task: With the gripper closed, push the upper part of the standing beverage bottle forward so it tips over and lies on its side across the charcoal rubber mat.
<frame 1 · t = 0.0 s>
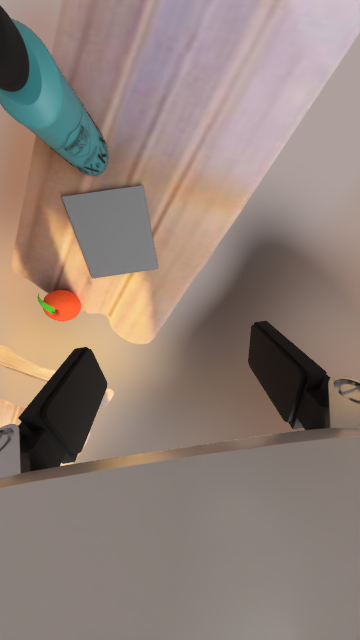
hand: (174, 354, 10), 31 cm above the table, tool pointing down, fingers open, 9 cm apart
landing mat: (115, 236, 34), on the table
beverage bottle: (93, 156, 28), on the table
clementine: (69, 298, 39), on the table
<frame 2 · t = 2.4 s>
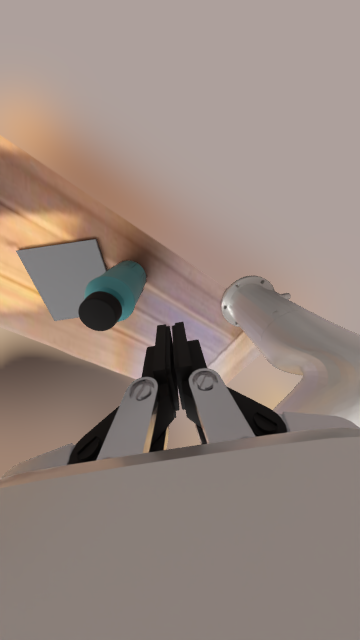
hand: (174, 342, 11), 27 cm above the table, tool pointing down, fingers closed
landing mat: (74, 283, 34), on the table
beverage bottle: (132, 274, 35), on the table
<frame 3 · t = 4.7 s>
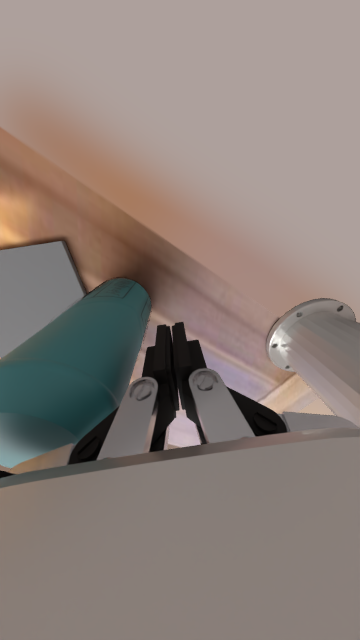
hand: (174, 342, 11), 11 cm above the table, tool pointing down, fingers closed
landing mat: (34, 313, 21), on the table
beverage bottle: (129, 298, 21), on the table, touching gripper
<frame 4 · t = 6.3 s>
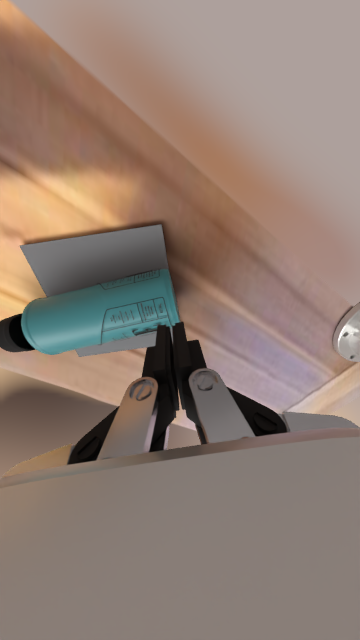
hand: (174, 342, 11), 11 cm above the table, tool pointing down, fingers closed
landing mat: (114, 300, 21), on the table
beverage bottle: (190, 294, 17), point 4 cm above the table, touching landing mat
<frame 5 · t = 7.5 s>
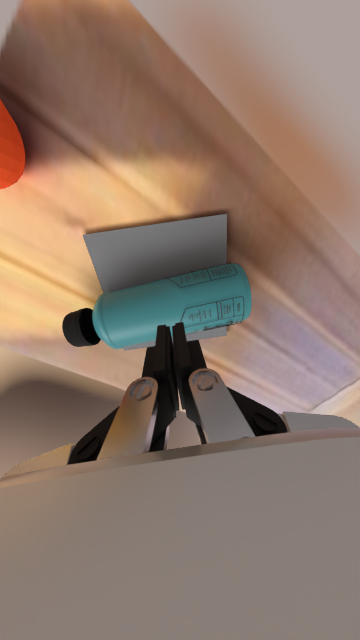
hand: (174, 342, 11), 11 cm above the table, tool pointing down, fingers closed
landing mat: (166, 292, 21), on the table
beverage bottle: (254, 289, 17), point 4 cm above the table, touching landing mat
clementine: (5, 143, 14), on the table
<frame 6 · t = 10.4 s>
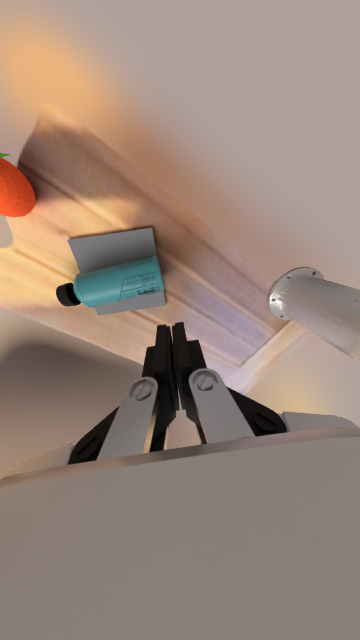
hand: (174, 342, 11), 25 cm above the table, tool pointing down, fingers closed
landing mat: (123, 275, 33), on the table
beverage bottle: (169, 271, 30), point 4 cm above the table, touching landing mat
clementine: (23, 190, 26), on the table
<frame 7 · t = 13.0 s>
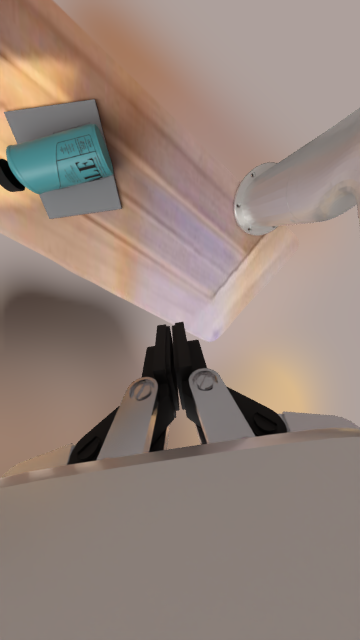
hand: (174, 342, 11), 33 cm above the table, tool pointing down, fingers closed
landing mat: (71, 166, 31), on the table
beverage bottle: (114, 149, 27), point 4 cm above the table, touching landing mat
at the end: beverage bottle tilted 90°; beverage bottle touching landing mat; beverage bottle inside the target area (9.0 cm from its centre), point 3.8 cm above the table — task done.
